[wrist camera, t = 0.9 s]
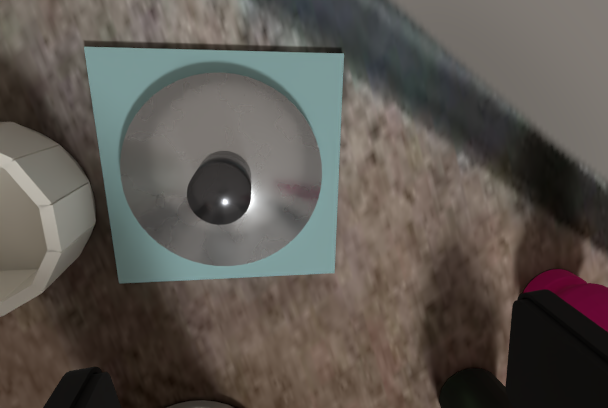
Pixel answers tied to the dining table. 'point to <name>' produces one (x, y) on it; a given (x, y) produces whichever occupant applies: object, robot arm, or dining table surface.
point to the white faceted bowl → (39, 213)
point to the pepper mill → (575, 293)
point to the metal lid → (221, 169)
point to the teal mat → (184, 62)
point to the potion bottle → (474, 391)
